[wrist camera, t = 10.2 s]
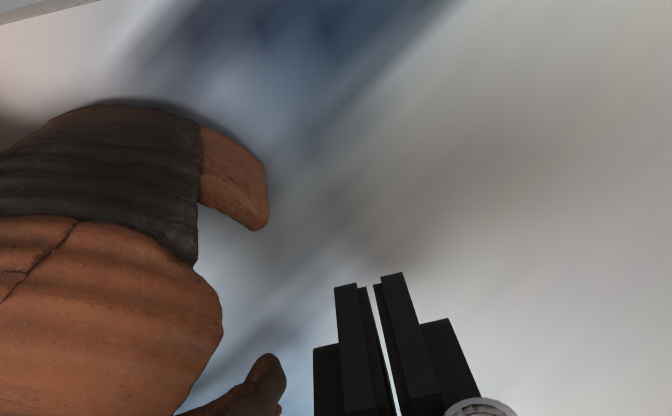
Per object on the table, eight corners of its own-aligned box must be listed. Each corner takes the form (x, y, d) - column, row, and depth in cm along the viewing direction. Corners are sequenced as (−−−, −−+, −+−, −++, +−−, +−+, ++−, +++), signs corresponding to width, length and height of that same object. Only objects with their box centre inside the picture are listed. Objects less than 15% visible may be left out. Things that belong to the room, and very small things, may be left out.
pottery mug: (371, 189, 15) (372, 526, 10) (207, 295, 21) (159, 539, 16) (-146, -110, 9) (-757, 378, 4) (-169, 160, 15) (-428, 487, 10)
